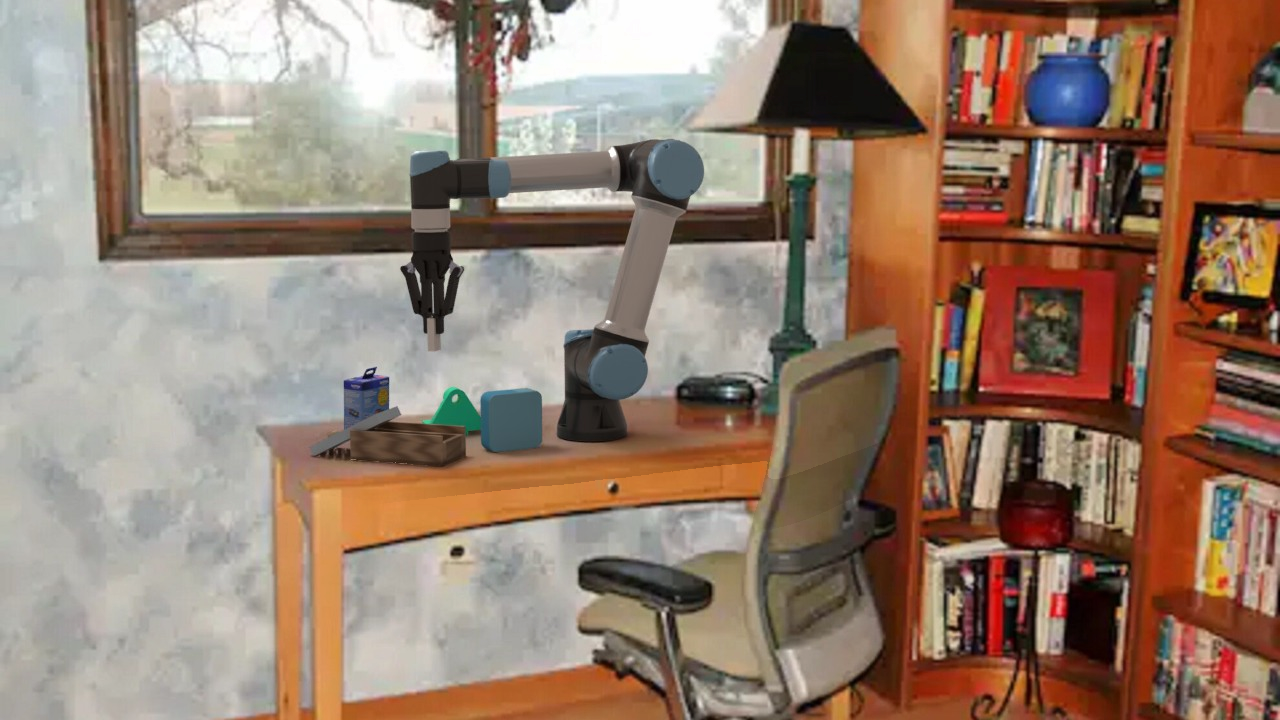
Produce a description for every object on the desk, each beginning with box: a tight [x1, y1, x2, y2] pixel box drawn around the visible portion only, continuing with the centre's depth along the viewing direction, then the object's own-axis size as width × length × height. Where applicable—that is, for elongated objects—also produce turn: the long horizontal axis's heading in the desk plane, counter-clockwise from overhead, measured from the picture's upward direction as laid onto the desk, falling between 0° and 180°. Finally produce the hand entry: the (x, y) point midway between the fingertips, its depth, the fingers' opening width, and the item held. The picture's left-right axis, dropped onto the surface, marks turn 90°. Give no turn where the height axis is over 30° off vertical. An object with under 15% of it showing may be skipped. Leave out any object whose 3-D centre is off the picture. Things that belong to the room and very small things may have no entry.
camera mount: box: [421, 386, 481, 436], centre depth 332 cm, size 12×8×10 cm, turn 113°
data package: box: [479, 387, 543, 454], centre depth 316 cm, size 12×4×12 cm, turn 121°
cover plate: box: [308, 405, 402, 457], centre depth 310 cm, size 17×9×3 cm, turn 72°
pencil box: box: [349, 420, 467, 468], centre depth 307 cm, size 20×11×6 cm, turn 72°
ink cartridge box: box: [343, 366, 390, 430], centre depth 331 cm, size 10×6×14 cm, turn 152°
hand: (434, 350), depth 302 cm, fingers closed
